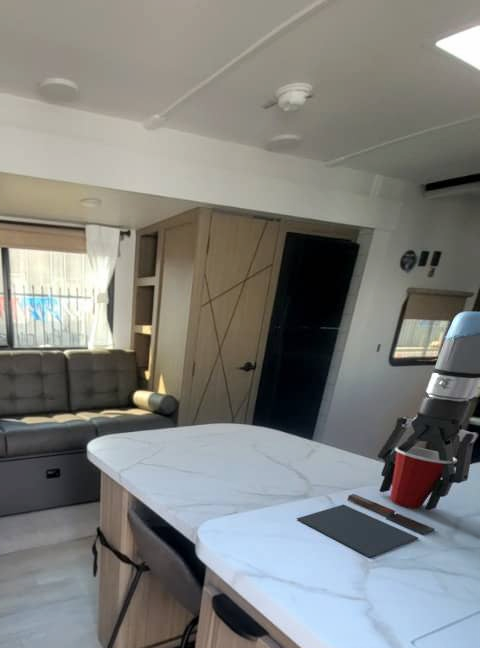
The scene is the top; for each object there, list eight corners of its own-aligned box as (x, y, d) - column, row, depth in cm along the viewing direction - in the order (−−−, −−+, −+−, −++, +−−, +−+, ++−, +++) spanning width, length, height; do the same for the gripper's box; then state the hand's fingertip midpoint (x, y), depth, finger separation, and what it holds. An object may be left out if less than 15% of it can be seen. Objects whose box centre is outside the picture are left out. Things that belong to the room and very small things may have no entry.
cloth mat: (343, 505, 88) (343, 504, 88) (417, 538, 76) (418, 537, 76) (296, 519, 82) (296, 518, 82) (369, 558, 70) (370, 556, 70)
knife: (344, 500, 90) (345, 496, 90) (355, 497, 92) (356, 492, 92) (422, 534, 78) (425, 529, 77) (433, 530, 79) (436, 525, 79)
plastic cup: (444, 506, 89) (467, 454, 84) (424, 518, 84) (447, 464, 78) (390, 488, 97) (408, 440, 92) (368, 498, 92) (386, 448, 86)
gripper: (380, 388, 87) (349, 483, 97) (508, 411, 70) (454, 524, 80) (400, 385, 90) (368, 478, 100) (527, 407, 73) (472, 517, 83)
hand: (406, 499), depth 90 cm, fingers closed on plastic cup, 9 cm apart
